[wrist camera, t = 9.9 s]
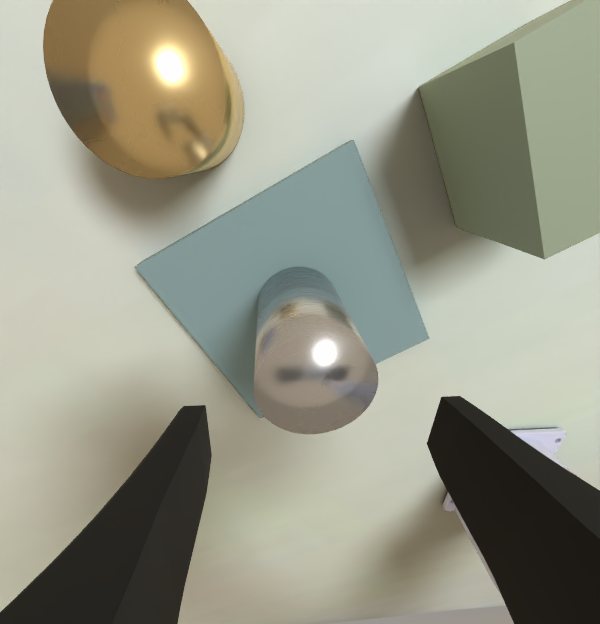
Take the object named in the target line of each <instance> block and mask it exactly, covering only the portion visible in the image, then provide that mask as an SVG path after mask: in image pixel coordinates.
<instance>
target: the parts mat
mask: <svg viewBox="0 0 600 624" xmlns="http://www.w3.org/2000/svg"><path fill="white" fill-rule="evenodd" d="M298 266H301V267H308V268H312V269H315V270H317V271H319V272H321V273H322V274H324V275H325V276H326V277H327V278H328V279H329V280H330V281H331V283H332V284H333V286H334V288H335V290H336V291H337V293H338V295H339V297H340V299H341V301H342V303H343V304H344V306H345V308H346V310H347V312H348V314H349V316H350V317H351V319H352V321H353V323H354V325H355V327H356V329H357V331H358V332H359V334H360V336H361V338H362V340H363V342H364V344H365V345H366V347H367V349H368V351H369V353H370V355H371V357H372V358H373V360H374V362H375V364H377V363H379V362H381V361H383V360H385V359H387V358H389V357H391V356H393V355H396V354H398V353H400V352H402V351H404V350H406V349H408V348H410V347H413V346H415V345H417V344H419V343H421V342H423V341H425V340H427V339H429V336H428V334H427V331H426V328H425V326H424V323H423V320H422V318H421V315H420V313H419V310H418V307H417V305H416V302H415V299H414V297H413V294H412V292H411V289H410V286H409V284H408V281H407V278H406V276H405V273H404V271H403V268H402V265H401V263H400V260H399V257H398V255H397V252H396V250H395V247H394V244H393V242H392V239H391V236H390V234H389V231H388V229H387V226H386V223H385V221H384V218H383V215H382V213H381V210H380V208H379V205H378V202H377V200H376V197H375V194H374V192H373V189H372V187H371V184H370V181H369V179H368V176H367V173H366V171H365V168H364V166H363V163H362V160H361V158H360V155H359V152H358V150H357V147H356V145H355V142H354V140H351V141H348V142H347V143H345V144H343V145H341V146H340V147H338V148H336V149H334V150H333V151H331V152H329V153H328V154H326V155H324V156H322V157H321V158H319V159H317V160H316V161H314V162H312V163H310V164H309V165H307V166H305V167H304V168H302V169H300V170H298V171H297V172H295V173H293V174H292V175H290V176H288V177H286V178H285V179H283V180H281V181H279V182H278V183H276V184H274V185H273V186H271V187H269V188H267V189H266V190H264V191H262V192H261V193H259V194H257V195H255V196H254V197H252V198H250V199H249V200H247V201H245V202H243V203H242V204H240V205H238V206H236V207H235V208H233V209H231V210H230V211H228V212H226V213H224V214H223V215H221V216H219V217H218V218H216V219H214V220H212V221H211V222H209V223H207V224H206V225H204V226H202V227H200V228H199V229H197V230H195V231H193V232H192V233H190V234H188V235H187V236H185V237H183V238H181V239H180V240H178V241H176V242H175V243H173V244H171V245H169V246H168V247H166V248H164V249H163V250H161V251H159V252H157V253H156V254H154V255H152V256H151V257H149V258H147V259H145V260H144V261H142V262H140V263H139V264H138V265H137V266H135V268H136V269H137V271H138V272H139V273H140V274H141V275H142V277H143V278H144V279H145V280H146V281H147V283H148V284H149V285H150V286H151V287H152V289H153V290H154V291H155V292H156V294H157V295H158V296H159V297H160V298H161V300H162V301H163V302H164V303H165V304H166V306H167V307H168V308H169V309H170V310H171V312H172V313H173V314H174V315H175V316H176V318H177V319H178V320H179V321H180V322H181V324H182V325H183V326H184V327H185V329H186V330H187V331H188V332H189V333H190V335H191V336H192V337H193V338H194V339H195V341H196V342H197V343H198V344H199V345H200V347H201V348H202V349H203V350H204V351H205V353H206V354H207V355H208V356H209V358H210V359H211V360H212V361H213V362H214V364H215V365H216V366H217V367H218V368H219V370H220V371H221V372H222V373H223V374H224V376H225V377H226V378H227V379H228V380H229V382H230V383H231V384H232V385H233V386H234V388H235V389H236V390H237V391H238V393H239V394H240V395H241V396H242V397H243V399H244V400H245V401H246V402H247V403H248V405H249V406H250V407H251V408H252V409H253V411H254V412H255V413H256V414H257V415H258V417H259V418H262V417H264V415H263V414H262V413H261V411H260V410H259V408H258V406H257V404H256V401H255V398H254V372H255V352H256V332H257V311H258V298H259V294H260V291H261V289H262V287H263V285H264V284H265V283H266V281H267V280H268V279H269V278H270V277H271V276H273V275H274V274H276V273H277V272H279V271H281V270H283V269H286V268H290V267H298Z"/></svg>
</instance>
